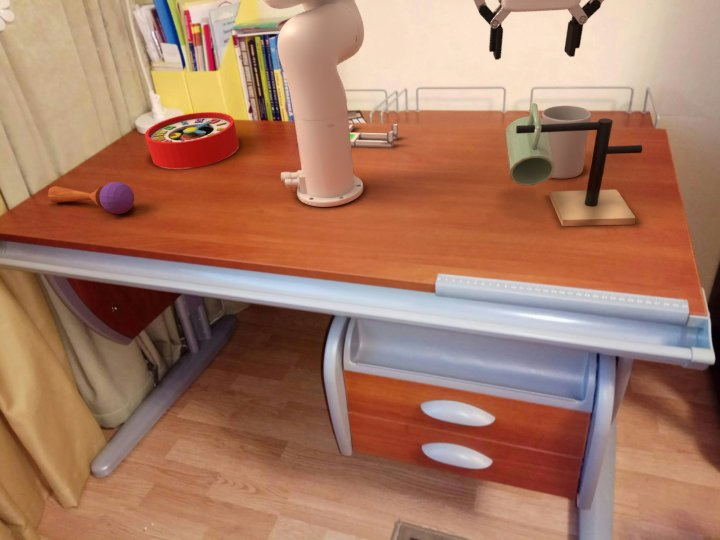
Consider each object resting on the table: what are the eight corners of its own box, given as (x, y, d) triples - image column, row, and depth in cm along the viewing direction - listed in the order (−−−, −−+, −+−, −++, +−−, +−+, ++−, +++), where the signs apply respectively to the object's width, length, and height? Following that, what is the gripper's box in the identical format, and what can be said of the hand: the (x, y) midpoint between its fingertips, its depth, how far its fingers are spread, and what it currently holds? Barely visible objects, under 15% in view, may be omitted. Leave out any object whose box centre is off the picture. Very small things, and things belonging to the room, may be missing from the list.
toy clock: (125, 136, 123) (191, 108, 136) (134, 160, 126) (197, 131, 140) (187, 148, 113) (251, 117, 127) (194, 174, 117) (256, 141, 130)
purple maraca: (64, 176, 111) (137, 178, 103) (72, 204, 114) (144, 209, 105) (37, 183, 106) (112, 186, 98) (46, 213, 109) (120, 218, 101)
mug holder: (513, 227, 88) (522, 136, 80) (505, 199, 97) (512, 113, 88) (637, 224, 86) (659, 130, 78) (618, 195, 94) (636, 107, 86)
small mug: (543, 145, 95) (550, 185, 90) (502, 147, 96) (507, 186, 91) (555, 92, 86) (564, 133, 81) (510, 95, 87) (516, 135, 82)
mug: (579, 181, 100) (588, 122, 94) (531, 176, 103) (537, 119, 97) (588, 156, 109) (597, 101, 102) (543, 152, 112) (550, 98, 106)
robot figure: (403, 129, 129) (315, 127, 135) (402, 115, 127) (313, 114, 133) (386, 157, 116) (290, 154, 122) (385, 142, 114) (288, 139, 120)
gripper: (616, -101, 67) (591, 46, 77) (473, -91, 69) (466, 51, 79) (636, -99, 61) (606, 60, 71) (478, -88, 63) (470, 65, 73)
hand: (532, 55), depth 75 cm, fingers open, 9 cm apart
